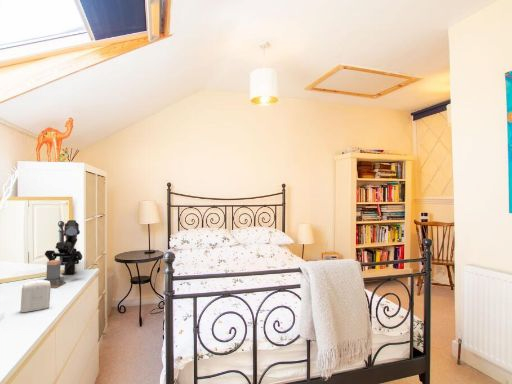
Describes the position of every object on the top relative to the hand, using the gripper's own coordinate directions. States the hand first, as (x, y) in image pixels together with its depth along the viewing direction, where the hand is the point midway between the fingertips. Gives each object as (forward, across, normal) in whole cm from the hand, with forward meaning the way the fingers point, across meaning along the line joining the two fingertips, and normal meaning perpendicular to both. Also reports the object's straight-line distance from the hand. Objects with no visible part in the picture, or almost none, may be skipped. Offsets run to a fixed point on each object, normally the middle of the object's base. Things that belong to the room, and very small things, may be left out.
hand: (57, 268), depth 171 cm
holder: (+9, 0, +3) cm, 10 cm away
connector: (+9, 0, +2) cm, 9 cm away
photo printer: (+34, +13, -23) cm, 43 cm away
